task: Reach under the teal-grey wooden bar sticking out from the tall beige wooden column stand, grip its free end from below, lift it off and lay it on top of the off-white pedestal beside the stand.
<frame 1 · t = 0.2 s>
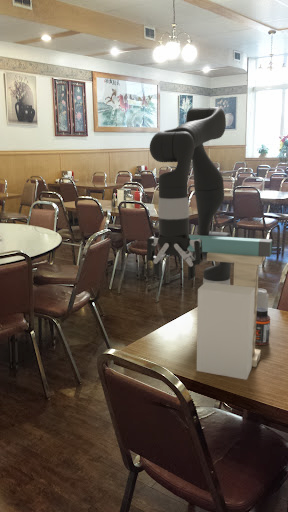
hand: (174, 278, 119), 29 cm above the table, tool pointing down, fingers open, 8 cm apart
base pedestal: (224, 369, 132), on the table
beige wooden column stand: (232, 357, 140), on the table
supplement bottle: (259, 343, 150), on the table
teal bar: (224, 251, 134), point 32 cm above the table, touching beige wooden column stand
can: (256, 322, 168), on the table
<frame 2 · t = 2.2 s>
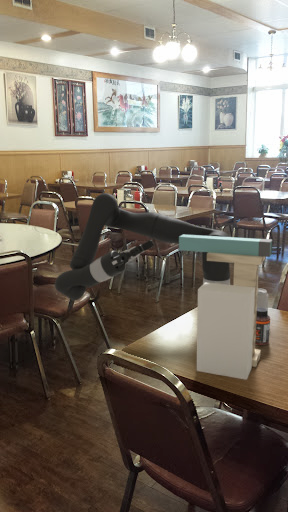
hand: (147, 245, 143), 32 cm above the table, tool pointing upward, fingers open, 8 cm apart
nothing on the table moved.
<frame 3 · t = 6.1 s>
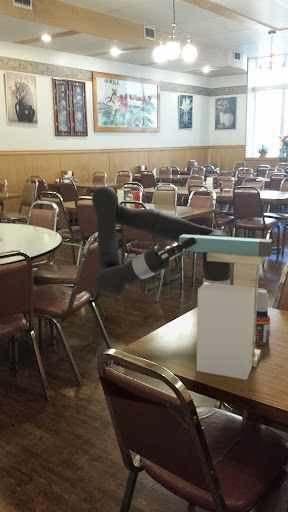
hand: (197, 238, 136), 35 cm above the table, tool pointing upward, fingers closed on teal bar, 4 cm apart
teal bar: (224, 251, 134), point 32 cm above the table, touching beige wooden column stand, gripper
everything else where it was.
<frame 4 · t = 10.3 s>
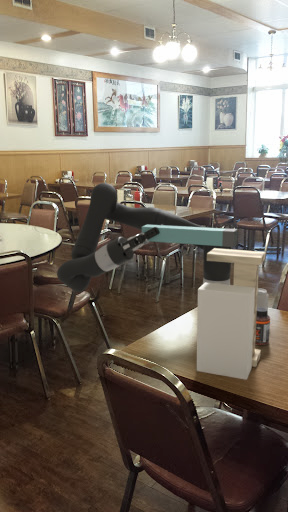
hand: (160, 228, 130), 39 cm above the table, tool pointing upward, fingers closed on teal bar, 4 cm apart
teal bar: (188, 242, 128), point 36 cm above the table, touching gripper
everything else where it was.
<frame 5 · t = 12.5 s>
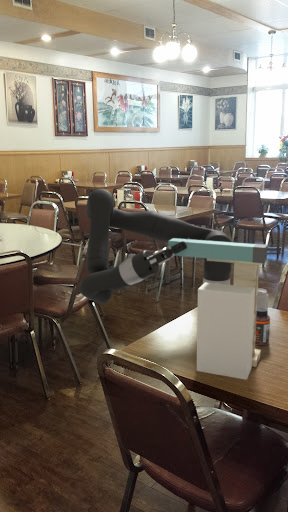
hand: (187, 242, 128), 36 cm above the table, tool pointing upward, fingers closed on teal bar, 4 cm apart
teal bar: (216, 257, 126), point 32 cm above the table, touching gripper
everything else where it was.
when the fingers open (29 cm above the table, at t = 14.3 s): teal bar drops 1 cm, resting on base pedestal.
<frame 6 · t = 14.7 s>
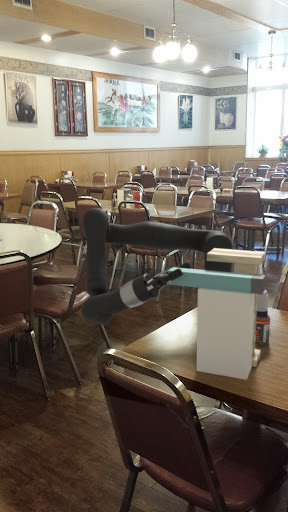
hand: (185, 268, 130), 29 cm above the table, tool pointing upward, fingers open, 7 cm apart
teal bar: (215, 287, 128), point 24 cm above the table, touching base pedestal
everything else where it was.
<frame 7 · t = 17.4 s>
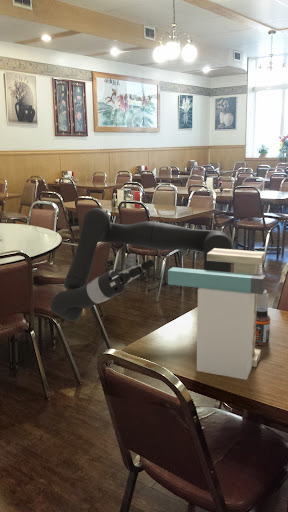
hand: (148, 265, 134), 28 cm above the table, tool pointing upward, fingers open, 8 cm apart
nothing on the table moved.
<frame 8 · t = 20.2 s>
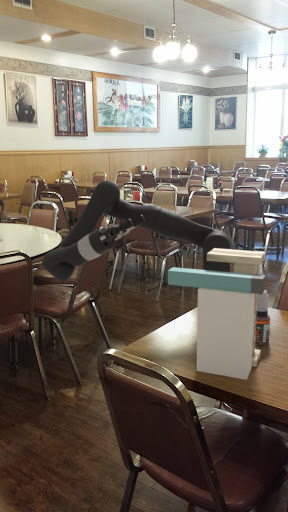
hand: (137, 219, 136), 41 cm above the table, tool pointing upward, fingers open, 8 cm apart
nothing on the table moved.
at the end: teal bar inside the target area on the base pedestal (0.6 cm from its centre), point 24.0 cm above the base pedestal's base; teal bar tilted 0°; the gripper is holding nothing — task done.
